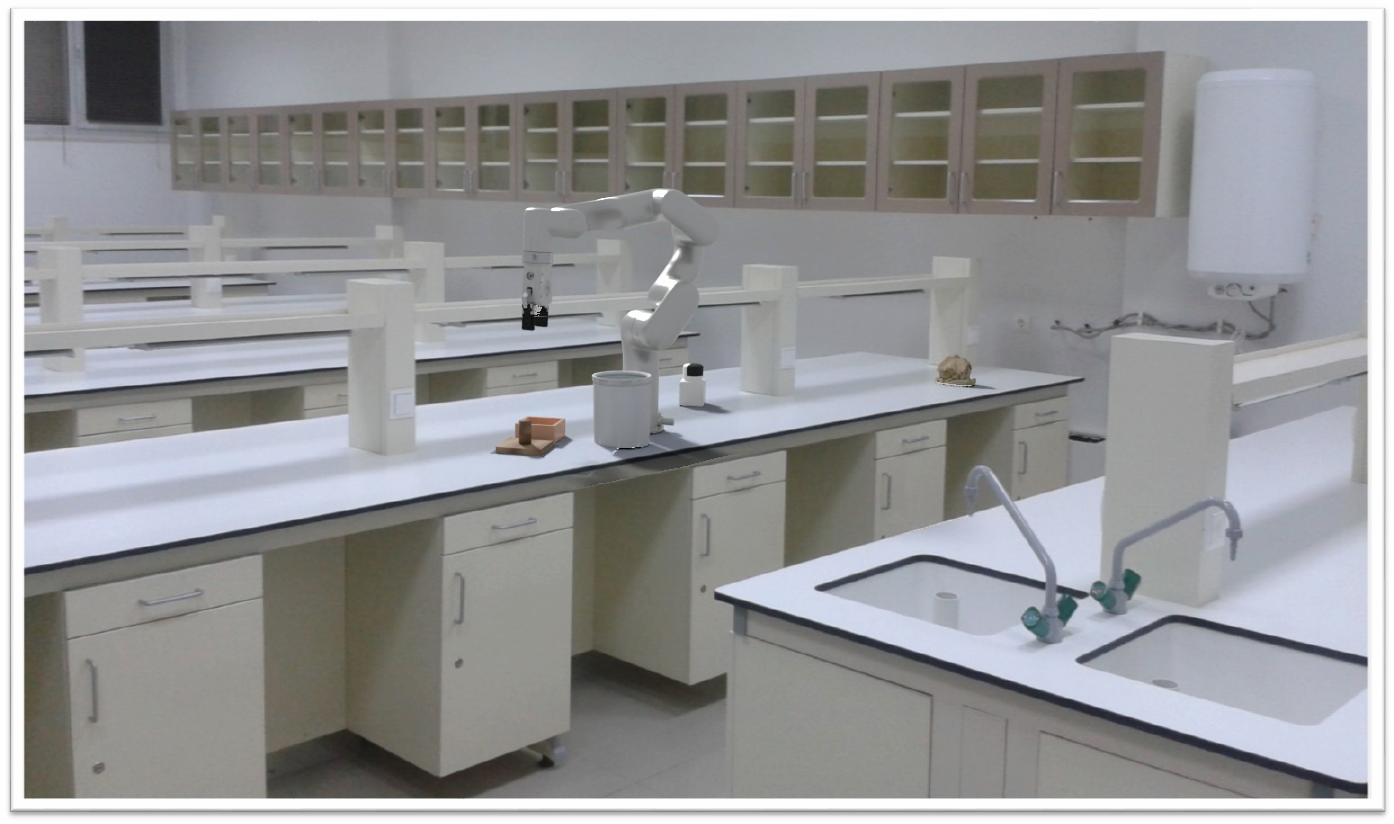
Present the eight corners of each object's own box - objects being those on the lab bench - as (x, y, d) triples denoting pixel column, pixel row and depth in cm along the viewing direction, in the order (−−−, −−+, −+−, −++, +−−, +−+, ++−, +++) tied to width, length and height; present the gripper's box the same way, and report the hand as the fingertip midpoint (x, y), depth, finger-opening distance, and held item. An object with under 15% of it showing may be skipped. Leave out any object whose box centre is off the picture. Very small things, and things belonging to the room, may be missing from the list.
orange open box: (565, 437, 320) (565, 418, 319) (554, 446, 310) (554, 426, 309) (527, 435, 321) (527, 416, 320) (515, 443, 311) (515, 423, 310)
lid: (553, 445, 307) (553, 417, 306) (540, 455, 297) (540, 426, 295) (510, 443, 309) (510, 414, 308) (495, 452, 298) (495, 423, 297)
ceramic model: (928, 383, 422) (930, 353, 420) (942, 379, 430) (944, 350, 429) (967, 388, 413) (969, 358, 412) (981, 384, 422) (983, 355, 420)
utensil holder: (578, 444, 313) (579, 374, 309) (615, 435, 325) (616, 367, 322) (626, 453, 305) (627, 381, 301) (662, 443, 317) (663, 374, 314)
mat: (558, 447, 308) (558, 445, 308) (543, 459, 296) (543, 456, 295) (507, 444, 310) (507, 441, 310) (490, 455, 298) (490, 453, 297)
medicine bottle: (705, 402, 374) (706, 362, 372) (703, 407, 367) (704, 366, 365) (681, 401, 375) (682, 361, 372) (678, 405, 368) (679, 365, 365)
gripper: (540, 261, 300) (537, 333, 303) (563, 258, 316) (560, 326, 319) (510, 259, 301) (508, 330, 304) (534, 256, 318) (532, 324, 321)
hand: (534, 328), depth 312 cm, fingers open, 9 cm apart
